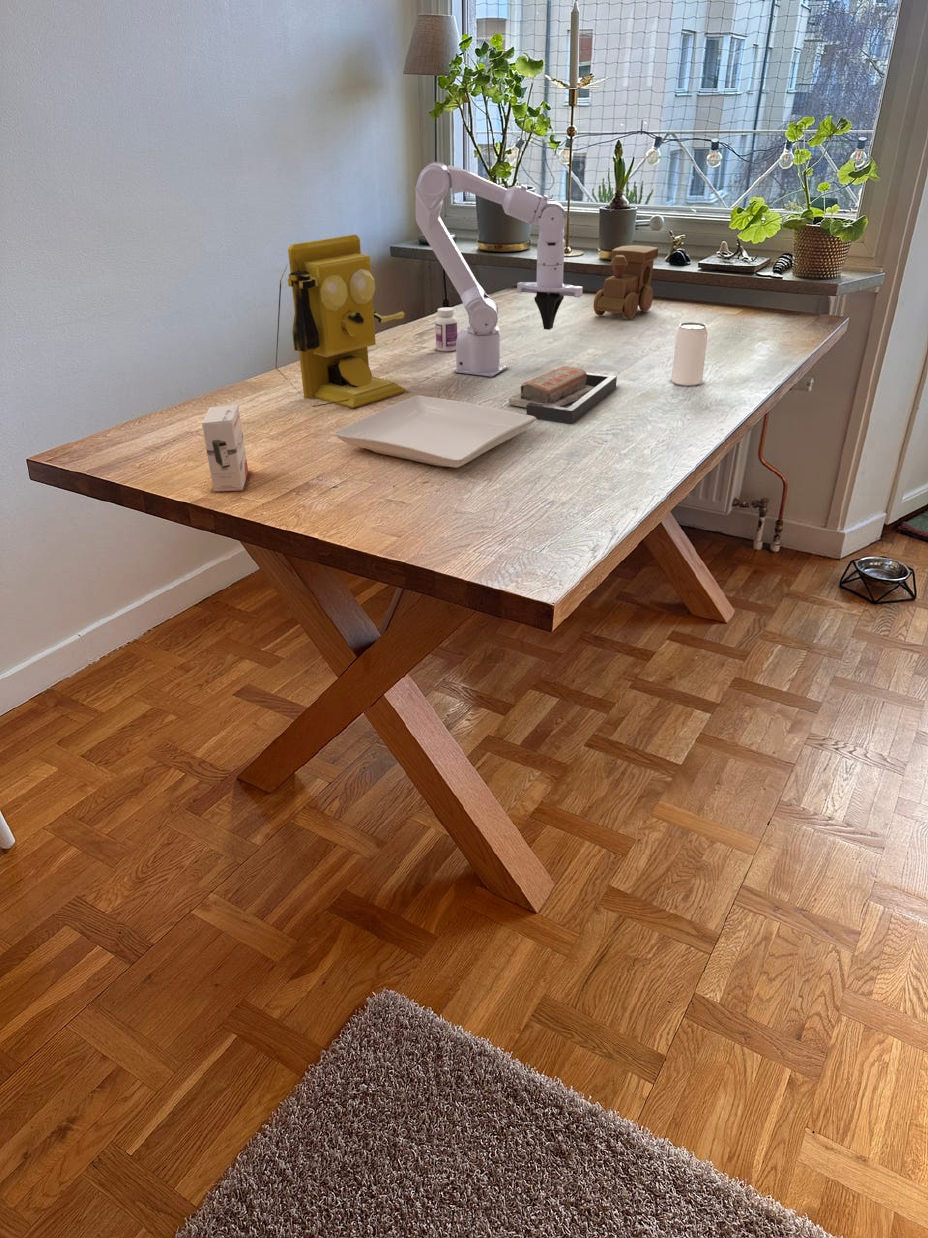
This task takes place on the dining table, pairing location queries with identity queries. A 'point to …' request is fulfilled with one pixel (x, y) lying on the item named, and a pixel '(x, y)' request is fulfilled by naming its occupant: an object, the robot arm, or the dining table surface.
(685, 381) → the can
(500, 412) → the square plate
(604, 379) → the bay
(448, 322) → the pill bottle
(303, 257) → the vintage telephone
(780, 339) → the dining table surface
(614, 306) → the wooden toy train
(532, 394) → the packaged product
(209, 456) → the ink box
